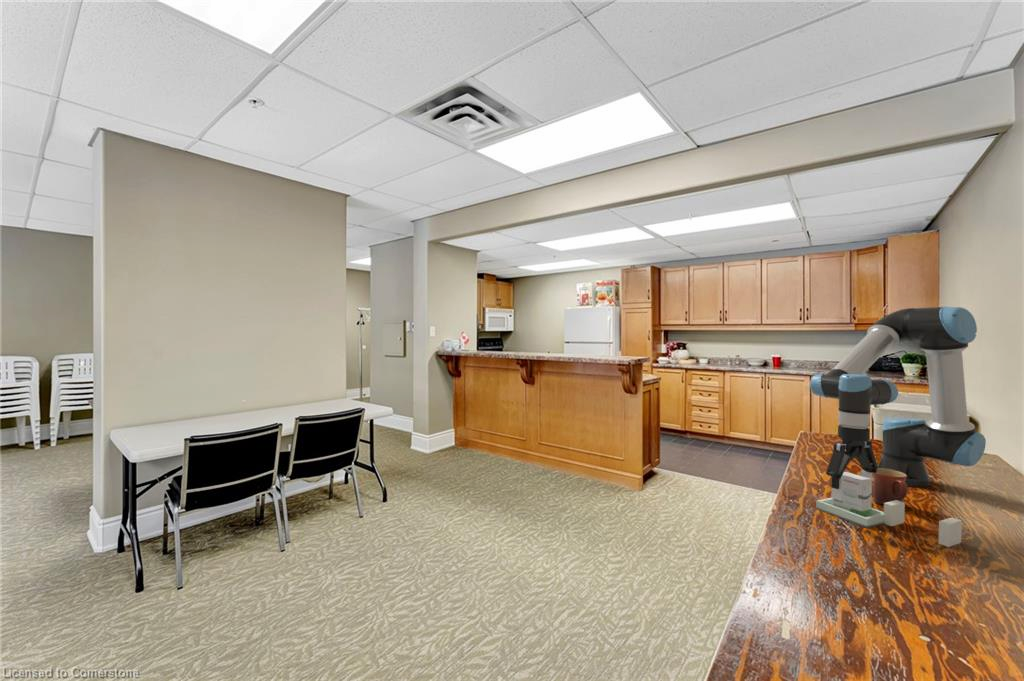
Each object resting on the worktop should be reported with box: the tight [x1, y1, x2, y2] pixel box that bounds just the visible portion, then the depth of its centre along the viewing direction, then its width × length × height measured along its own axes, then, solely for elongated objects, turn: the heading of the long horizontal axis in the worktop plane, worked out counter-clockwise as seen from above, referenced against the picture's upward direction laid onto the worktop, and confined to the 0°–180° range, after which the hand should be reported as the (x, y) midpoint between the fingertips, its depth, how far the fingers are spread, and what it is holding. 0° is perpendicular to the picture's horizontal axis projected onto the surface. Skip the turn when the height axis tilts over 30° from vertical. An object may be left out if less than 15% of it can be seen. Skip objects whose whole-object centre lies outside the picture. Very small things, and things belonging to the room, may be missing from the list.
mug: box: [872, 468, 908, 506], centre depth 137 cm, size 12×9×10 cm
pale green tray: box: [815, 497, 885, 529], centre depth 130 cm, size 10×14×3 cm
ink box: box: [832, 471, 873, 517], centre depth 130 cm, size 9×5×12 cm, turn 23°
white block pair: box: [883, 500, 963, 548], centre depth 119 cm, size 6×14×6 cm, turn 22°
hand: (851, 495), depth 130 cm, fingers open, 13 cm apart
